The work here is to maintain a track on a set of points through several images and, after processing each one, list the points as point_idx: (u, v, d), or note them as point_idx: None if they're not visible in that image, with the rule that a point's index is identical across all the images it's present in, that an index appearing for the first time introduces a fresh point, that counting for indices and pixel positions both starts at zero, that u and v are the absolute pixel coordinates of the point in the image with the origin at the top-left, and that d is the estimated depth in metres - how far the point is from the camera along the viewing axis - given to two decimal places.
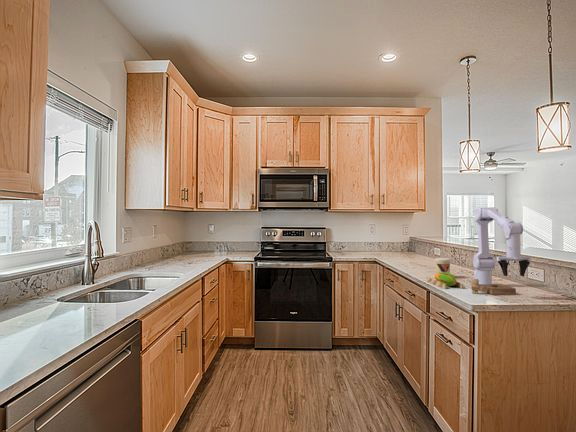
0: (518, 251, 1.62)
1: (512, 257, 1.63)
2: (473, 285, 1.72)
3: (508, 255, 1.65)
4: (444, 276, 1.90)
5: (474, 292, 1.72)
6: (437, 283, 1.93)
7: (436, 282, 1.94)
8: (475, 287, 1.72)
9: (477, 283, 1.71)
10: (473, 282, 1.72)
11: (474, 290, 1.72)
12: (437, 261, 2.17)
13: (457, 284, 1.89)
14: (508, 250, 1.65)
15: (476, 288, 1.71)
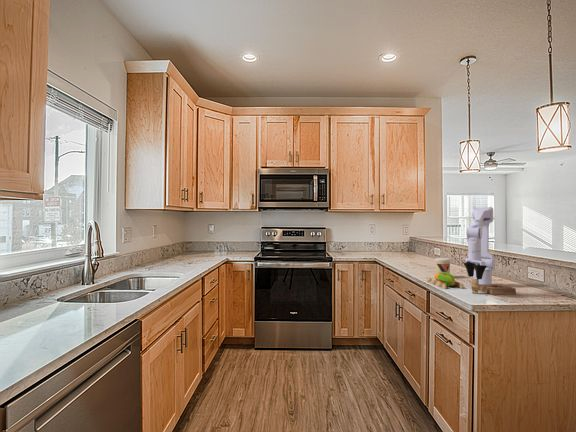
0: (470, 254, 1.72)
1: (468, 259, 1.75)
2: (473, 285, 1.72)
3: None
4: (443, 276, 1.90)
5: (474, 292, 1.72)
6: (437, 283, 1.93)
7: (436, 282, 1.94)
8: (475, 287, 1.72)
9: (477, 283, 1.71)
10: (473, 282, 1.72)
11: (474, 290, 1.72)
12: (437, 261, 2.17)
13: (457, 284, 1.89)
14: None
15: (476, 288, 1.71)
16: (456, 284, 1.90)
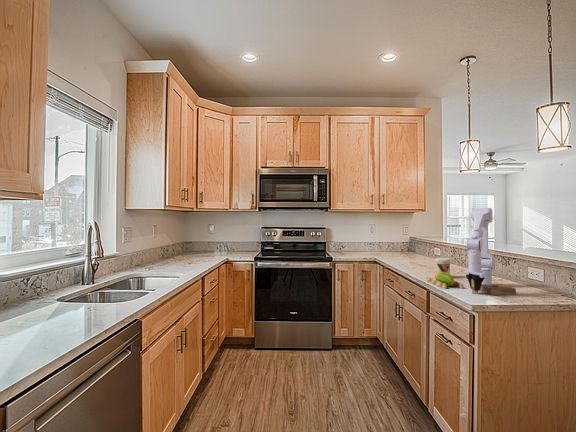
0: (470, 266, 1.72)
1: (468, 271, 1.75)
2: (473, 285, 1.72)
3: None
4: (442, 276, 1.90)
5: (474, 292, 1.72)
6: (437, 283, 1.93)
7: (436, 282, 1.94)
8: None
9: None
10: (473, 282, 1.72)
11: (474, 290, 1.72)
12: (437, 261, 2.17)
13: (457, 284, 1.89)
14: None
15: None
16: (456, 284, 1.90)
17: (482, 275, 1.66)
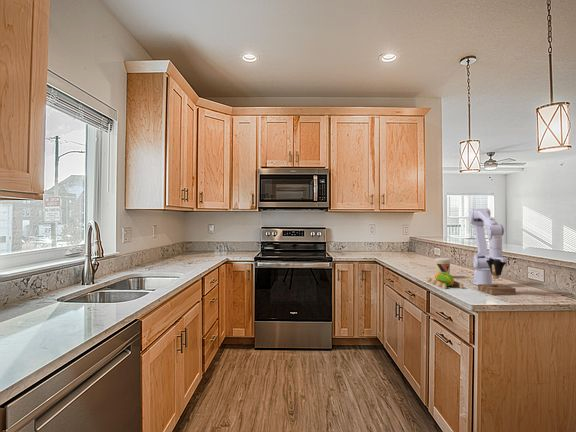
0: (491, 251, 1.74)
1: (488, 256, 1.77)
2: (494, 270, 1.74)
3: None
4: (442, 276, 1.91)
5: (495, 277, 1.74)
6: (437, 283, 1.93)
7: (436, 282, 1.94)
8: None
9: None
10: (494, 267, 1.74)
11: (495, 275, 1.74)
12: (437, 261, 2.17)
13: (457, 284, 1.89)
14: None
15: None
16: (456, 284, 1.90)
17: (504, 259, 1.68)
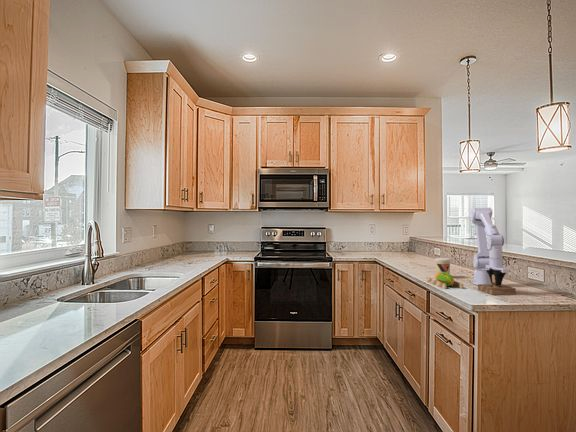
0: (491, 261, 1.74)
1: (489, 266, 1.77)
2: (494, 280, 1.74)
3: None
4: (442, 276, 1.91)
5: None
6: (437, 283, 1.93)
7: (436, 282, 1.94)
8: None
9: None
10: (494, 277, 1.74)
11: (495, 285, 1.74)
12: (437, 261, 2.17)
13: (457, 284, 1.89)
14: None
15: None
16: (456, 284, 1.90)
17: (504, 270, 1.68)
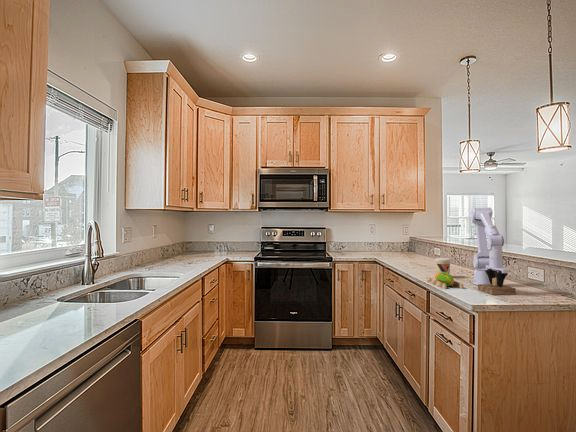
0: (491, 261, 1.74)
1: (489, 266, 1.77)
2: (494, 284, 1.74)
3: None
4: (441, 276, 1.91)
5: None
6: (437, 283, 1.93)
7: (436, 282, 1.94)
8: (496, 286, 1.74)
9: None
10: (494, 281, 1.74)
11: None
12: (437, 261, 2.17)
13: (457, 284, 1.89)
14: None
15: None
16: (456, 284, 1.90)
17: (504, 270, 1.68)
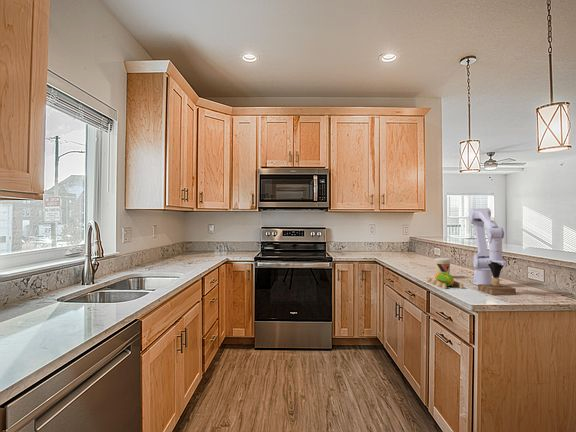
0: (491, 254, 1.74)
1: (488, 259, 1.77)
2: (494, 284, 1.74)
3: None
4: (441, 276, 1.91)
5: None
6: (437, 283, 1.93)
7: (436, 282, 1.94)
8: (496, 286, 1.74)
9: (498, 282, 1.74)
10: (494, 281, 1.74)
11: None
12: (437, 261, 2.17)
13: (457, 284, 1.89)
14: None
15: None
16: (456, 284, 1.90)
17: (504, 263, 1.68)
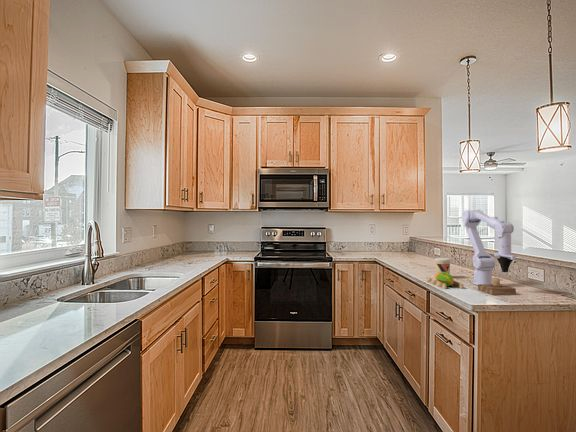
0: (500, 249, 1.76)
1: (497, 254, 1.79)
2: (494, 284, 1.74)
3: None
4: (441, 276, 1.91)
5: None
6: (437, 283, 1.93)
7: (436, 282, 1.94)
8: (496, 286, 1.74)
9: (498, 282, 1.74)
10: (494, 281, 1.74)
11: None
12: (437, 261, 2.17)
13: (457, 284, 1.89)
14: None
15: None
16: (456, 284, 1.90)
17: (513, 257, 1.70)
